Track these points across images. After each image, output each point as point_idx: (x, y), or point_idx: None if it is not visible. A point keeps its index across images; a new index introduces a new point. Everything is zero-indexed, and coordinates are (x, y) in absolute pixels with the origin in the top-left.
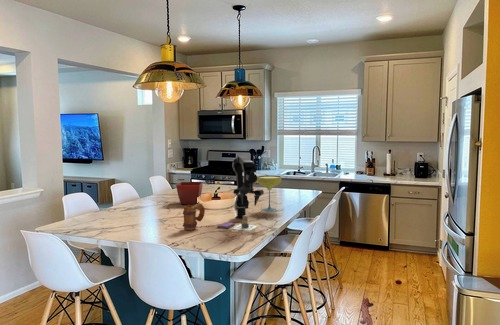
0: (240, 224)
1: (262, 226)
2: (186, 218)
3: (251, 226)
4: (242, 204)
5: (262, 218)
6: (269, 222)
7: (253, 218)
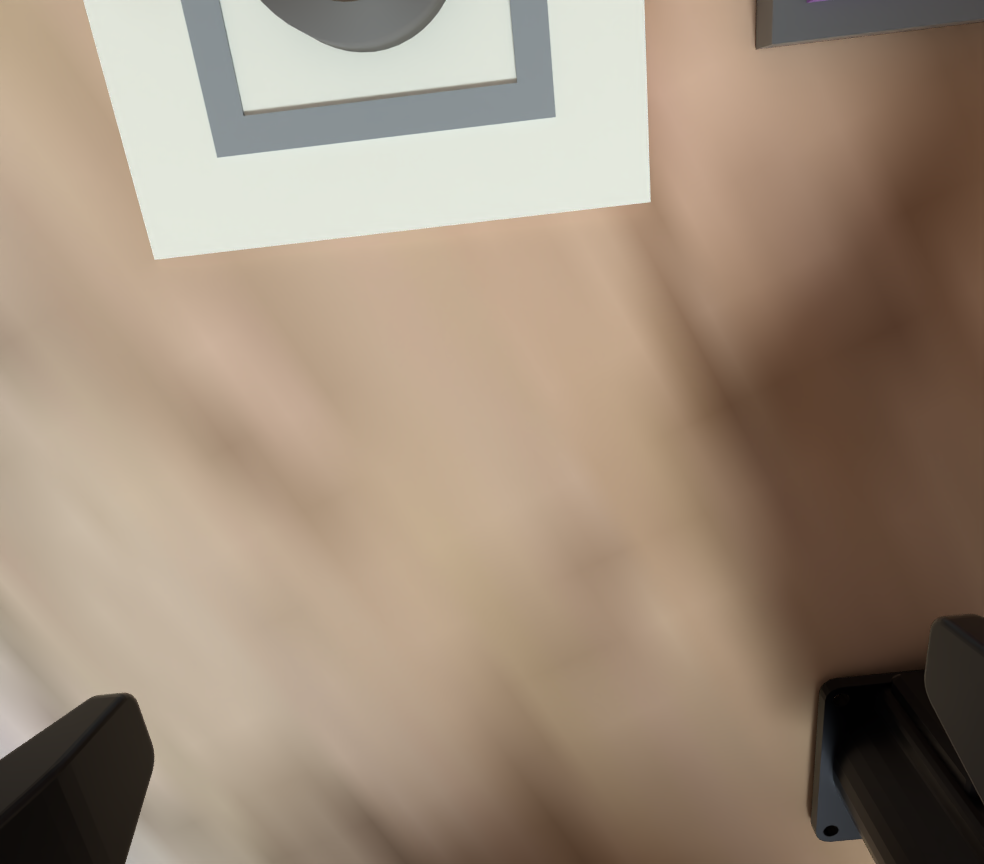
0: (634, 163)
1: (54, 290)
2: None
3: (256, 114)
4: (928, 668)
5: (475, 839)
6: (164, 656)
7: (638, 775)
